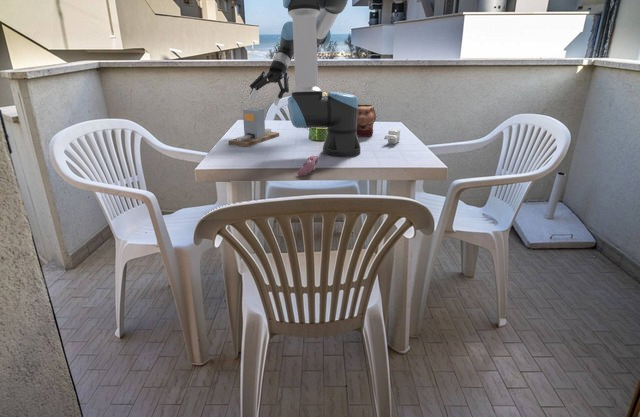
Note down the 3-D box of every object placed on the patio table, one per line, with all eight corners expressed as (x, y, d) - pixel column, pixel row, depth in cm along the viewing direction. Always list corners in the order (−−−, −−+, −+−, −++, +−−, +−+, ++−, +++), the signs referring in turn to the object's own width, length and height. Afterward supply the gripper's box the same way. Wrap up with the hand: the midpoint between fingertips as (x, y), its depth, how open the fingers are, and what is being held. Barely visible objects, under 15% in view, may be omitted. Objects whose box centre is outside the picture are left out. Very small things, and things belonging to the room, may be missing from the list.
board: (261, 133, 197) (261, 130, 197) (279, 135, 193) (279, 132, 192) (228, 144, 178) (228, 140, 177) (247, 146, 173) (247, 143, 173)
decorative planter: (347, 129, 207) (348, 101, 201) (372, 130, 207) (373, 101, 202) (351, 139, 188) (352, 108, 183) (377, 139, 188) (379, 108, 183)
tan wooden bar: (267, 131, 194) (266, 128, 194) (271, 132, 193) (271, 129, 193) (237, 141, 176) (236, 137, 176) (241, 141, 175) (241, 138, 175)
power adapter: (392, 147, 174) (393, 133, 172) (381, 146, 176) (382, 132, 174) (400, 142, 183) (401, 128, 181) (390, 140, 185) (391, 127, 183)
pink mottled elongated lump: (307, 181, 137) (317, 164, 134) (295, 175, 137) (304, 157, 134) (313, 172, 146) (322, 156, 143) (302, 166, 146) (311, 149, 143)
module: (252, 134, 189) (251, 107, 184) (265, 136, 186) (264, 109, 181) (244, 137, 184) (242, 109, 179) (256, 138, 181) (255, 111, 176)
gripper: (305, 72, 190) (289, 109, 183) (261, 70, 201) (244, 105, 194) (299, 60, 184) (282, 99, 177) (254, 59, 194) (236, 95, 188)
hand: (262, 102), depth 186 cm, fingers open, 13 cm apart
